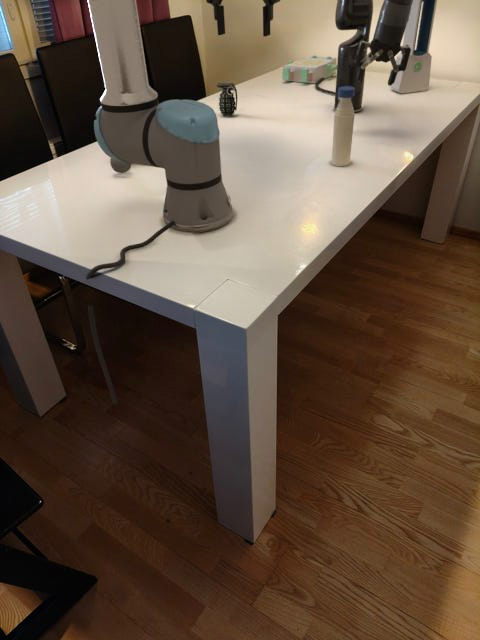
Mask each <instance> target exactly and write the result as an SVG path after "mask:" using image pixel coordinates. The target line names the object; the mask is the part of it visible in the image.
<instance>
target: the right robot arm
mask: <svg viewBox="0 0 480 640" xmlns="http://www.w3.org/2000/svg"><path fill="white" fill-rule="evenodd" d="M412 2H413V0H383V2H382V5H381V7H380V11H379V14H378V18H377V22H376V26H375V30H374V33H373V37H372V40H371V41H370V37H371V36H370V35H371V29H372V28H371V27H372V22H373V14H374V0H337V1H336V6H335V15H334V16H335V17H334V20H335V21H334V23H335V27H336V29H337V31H355V33H354V34H353V36H352V37H350V38H349V39H347V40H345V41H343V42H341V43H340V44H339V45H338V49H337V60H336V65H337V70H336V77H335V90H334V91H333V90H328V89H324V88H322V87H320V86H319V84H320V83H321V82H322V81H323V80H325V79H324V77H323V78H321V79H320V80H319V81H318V82H317V83H315V86H314V87H315V88H316V90H319V91H321V92H323V93H326V94H331V95H334V107H333V111H334V112H335V111H336V108H337V107H338V104H339V101H340V97H338V88H339V87H344V86H350V87H354V88H355V92H354V97H351V101H352V104H353V108H354V109H353V110H354V114H356V113H360V112H361V111H363V100H364V99H363V98H364V90H365V89H364V88H365V78H366V68H367V67H368V66H369V65H371V64H372V63H373V62H374V61H375V62H378V63H380V62H382V63H386V64H387V63H389V62H390V64H391V67H392V69H391V70H390V74H389V75H388V79H387V85H388V86H389V87H391V85H392V84H394V82H395V79H396V76H397V73H398V72H399V71H405V70H406V67H407V63H408V59H409V56H410V52H411V49H410V46H409V45H406V46H403V45H402V44H401V43H402V41H403V39H404V33H405V28H406V25H407V22H408V20H409V16H410V12H411V7H412ZM368 49H369V50H370V51H369V53H368ZM400 53H402V55H403V56H402V60H401V63H400V65H397V63H396V58H395V57H397V56H398V55H399V54H400Z"/></svg>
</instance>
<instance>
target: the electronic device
mask: <svg viewBox="0 0 480 640" xmlns="http://www.w3.org/2000/svg"><path fill="white" fill-rule="evenodd" d="M437 4H438V0H413V2H412V7H411V12H410V16H409V20H408V22H407V25H406V28H405V32H404V35H403V39H402V41H403V42H402V46H406V45H409V46H410V49H411V52H410V56H409V59H408V63H407V67H406V70H405V71H399V72H398V73H397V76H396V79H395V82H394V84H392V85H391V86H390V88H391V90H392V91H394V92H395V93H396V92H397V93H399V94H409V93H416V92H425V91H427V90H428V88H430V80H431V69H432V58H433V56H432V55H431V53H430V45H431V40H432V39H431V38H432V34H433V28H434V21H435V15H436V10H437ZM402 56H403V55H402V53H401V52H399V53H398V54H397V55H396V58H395V61H396V63H397V65H400V63H401V60H402Z"/></svg>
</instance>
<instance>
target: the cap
mask: <svg viewBox="0 0 480 640" xmlns="http://www.w3.org/2000/svg"><path fill="white" fill-rule="evenodd" d="M354 92H355V88H354V87H350V86H344V87H339V88H338V97H341V98H351V97H354Z"/></svg>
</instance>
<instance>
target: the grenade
mask: <svg viewBox="0 0 480 640" xmlns="http://www.w3.org/2000/svg"><path fill="white" fill-rule="evenodd" d="M215 87H217V88H219V89H221V93H219V97H218V101H219V102H218V106H219V108H218V109H219V112H220V114H221V115H222V116H224V117H231V116H233V115H234V113H235V112H236V111H237V108H238V89H237V87H236V85H235V84H234V83H233V82H218V83H217V84H216V86H215ZM232 91H233V92H232ZM234 94H235V96H234Z"/></svg>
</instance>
